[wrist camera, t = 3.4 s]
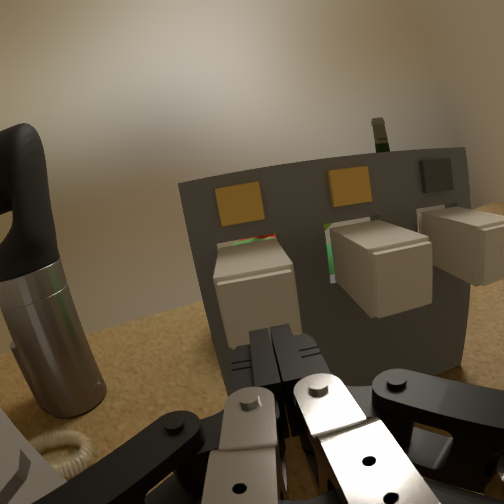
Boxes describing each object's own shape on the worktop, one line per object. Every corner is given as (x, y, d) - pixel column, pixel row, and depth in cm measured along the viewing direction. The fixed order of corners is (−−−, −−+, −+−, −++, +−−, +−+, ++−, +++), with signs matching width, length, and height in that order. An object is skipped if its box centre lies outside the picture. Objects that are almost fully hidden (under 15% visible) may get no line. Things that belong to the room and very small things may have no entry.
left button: (228, 353, 16) (212, 282, 15) (229, 300, 24) (219, 248, 23) (304, 339, 16) (295, 267, 15) (283, 290, 24) (275, 237, 23)
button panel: (237, 431, 26) (176, 183, 21) (236, 413, 29) (182, 183, 24) (463, 367, 27) (469, 147, 22) (451, 356, 29) (452, 148, 24)
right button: (481, 289, 16) (483, 227, 16) (423, 260, 24) (421, 212, 23) (516, 276, 16) (519, 219, 16) (458, 251, 24) (457, 206, 23)
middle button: (375, 322, 16) (371, 251, 15) (335, 280, 24) (329, 228, 23) (434, 305, 16) (434, 238, 15) (382, 270, 24) (378, 219, 23)
